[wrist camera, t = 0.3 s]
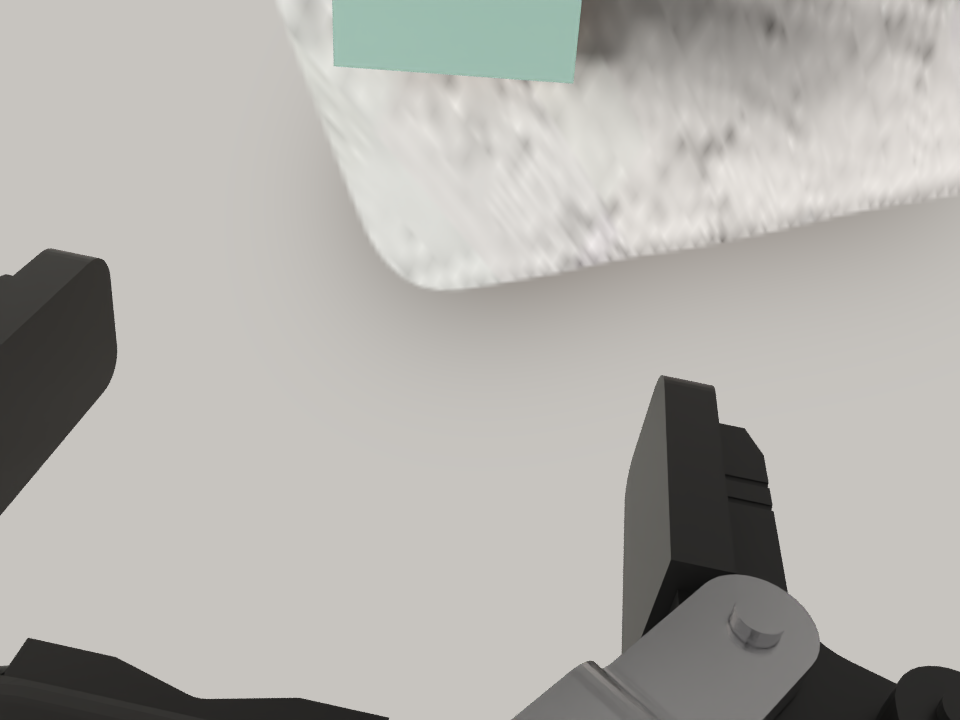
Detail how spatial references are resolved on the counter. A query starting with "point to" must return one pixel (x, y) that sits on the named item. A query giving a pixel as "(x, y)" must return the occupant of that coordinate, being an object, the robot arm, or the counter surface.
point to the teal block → (460, 37)
